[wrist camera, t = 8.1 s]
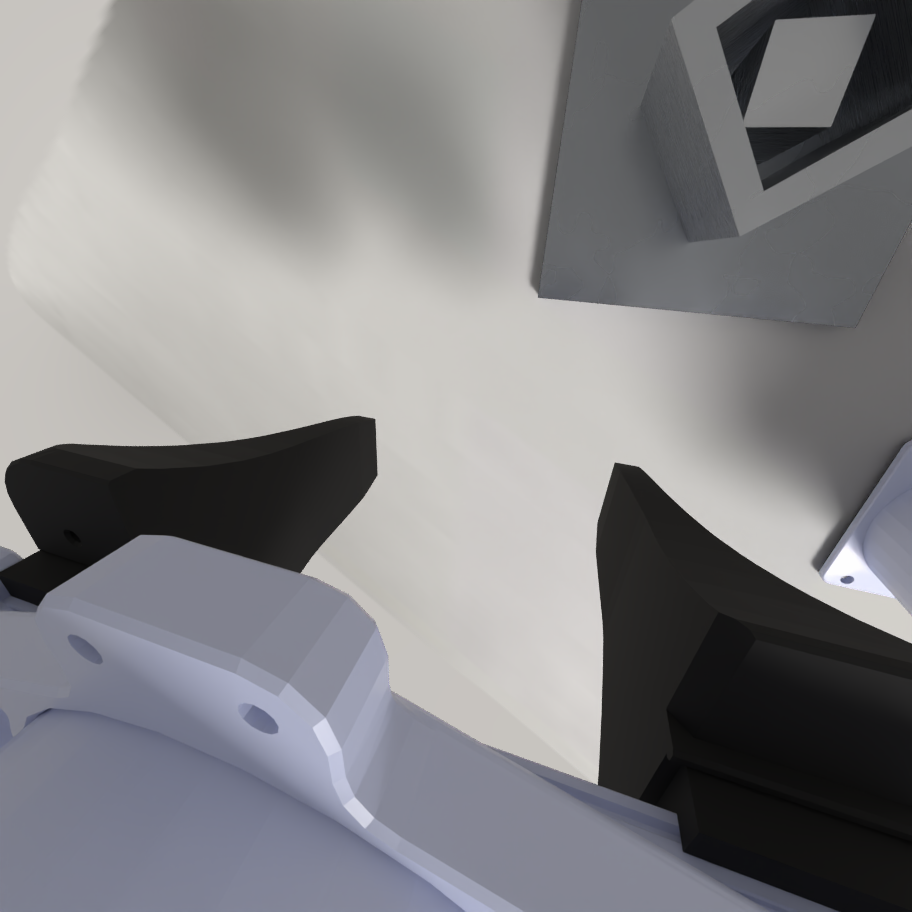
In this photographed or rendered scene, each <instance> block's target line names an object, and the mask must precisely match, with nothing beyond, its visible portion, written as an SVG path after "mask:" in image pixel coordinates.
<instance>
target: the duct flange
mask: <svg viewBox="0 0 912 912" xmlns="http://www.w3.org/2000/svg"><path fill="white" fill-rule="evenodd" d="M693 1H694V0H582V4H581V11H580V17H579V24H578V31H577V37H576V44H575V51H574V58H573V64H572V71H571V78H570V85H569V91H568V98H567V105H566V112H565V118H564V125H563V132H562V138H561V145H560V152H559V159H558V165H557V172H556V179H555V186H554V192H553V199H552V206H551V212H550V219H549V226H548V233H547V239H546V246H545V253H544V260H543V266H542V273H541V280H540V287H539V293H538V298H548V299H558V300H569V301H579V302H589V303H600V304H610V305H621V306H631V307H642V308H652V309H663V310H673V311H684V312H694V313H705V314H715V315H726V316H736V317H747V318H757V319H768V320H778V321H789V322H799V323H810V324H820V325H831V326H841V327H852V328H856V326H857V324H858V322H859V320H860V318H861V316H862V314H863V312H864V310H865V309H866V307H867V305H868V303H869V301H870V299H871V297H872V295H873V293H874V291H875V289H876V287H877V286H878V284H879V282H880V280H881V278H882V276H883V274H884V272H885V270H886V268H887V266H888V265H889V263H890V261H891V259H892V257H893V255H894V253H895V251H896V249H897V247H898V245H899V244H900V242H901V240H902V238H903V236H904V234H905V232H906V230H907V228H908V226H909V224H910V222H911V221H912V147H910V148H908V149H906V150H904V151H902V152H900V153H898V154H896V155H894V156H892V157H891V158H889V159H887V160H885V161H883V162H881V163H879V164H877V165H875V166H873V167H871V168H870V169H868V170H866V171H864V172H862V173H860V174H858V175H856V176H854V177H852V178H851V179H849V180H847V181H845V182H843V183H841V184H839V185H837V186H835V187H833V188H831V189H830V190H828V191H826V192H824V193H822V194H820V195H818V196H816V197H814V198H812V199H810V200H809V201H807V202H805V203H803V204H801V205H799V206H797V207H795V208H793V209H791V210H789V211H788V212H786V213H784V214H782V215H780V216H778V217H776V218H774V219H772V220H770V221H768V222H767V223H765V224H763V225H761V226H759V227H757V228H755V229H753V230H751V231H749V232H747V233H746V234H744V235H742V236H740V237H732V238H724V239H715V240H707V241H699V242H691V243H688V240H687V237H686V234H685V231H684V228H683V225H682V223H681V220H680V217H679V214H678V211H677V208H676V206H675V203H674V200H673V197H672V194H671V191H670V189H669V186H668V183H667V180H666V177H665V174H664V172H663V169H662V166H661V163H660V160H659V157H658V154H657V152H656V149H655V146H654V143H653V140H652V137H651V135H650V132H649V129H648V126H647V123H646V120H645V118H644V115H643V112H642V109H641V106H640V105H641V103H642V100H643V97H644V94H645V91H646V88H647V86H648V83H649V80H650V77H651V74H652V71H653V69H654V66H655V63H656V60H657V57H658V54H659V52H660V49H661V46H662V43H663V40H664V37H665V35H666V32H667V29H668V26H669V23H670V20H671V19H672V18H673V17H674V16H675V15H677V14H678V13H679V12H680V11H682V10H683V9H684V8H685V7H687V6H688V5H689V4H690V3H692V2H693ZM875 16H876V14H869V15H851V16H833V17H816V18H798V19H780V20H775V21H774V22H773V23H772V25H771V26H770V27H769V28H768V30H767V31H766V32H765V33H764V35H763V36H762V37H761V38H760V40H759V41H758V42H757V43H756V45H755V46H754V47H753V49H752V50H751V51H750V52H749V54H748V55H747V56H746V57H745V59H743V60H742V61H741V62H739V63H738V64H736V65H735V66H733V67H732V68H731V69H729V73H730V77H731V80H732V83H733V87H734V90H735V94H736V97H737V101H738V104H739V107H740V111H741V114H742V118H743V121H744V125H745V128H746V132H747V135H748V138H749V142H750V145H751V149H752V152H753V156H754V159H755V162H756V166H757V169H758V173H759V176H760V180H762V179H764V178H766V177H768V176H769V175H771V174H773V173H775V172H776V171H778V170H780V169H782V168H783V167H785V166H787V165H789V164H790V163H792V162H794V161H796V160H797V159H799V158H801V157H803V156H805V155H806V154H808V153H810V152H812V151H813V150H815V149H817V148H819V147H820V146H822V143H821V139H820V135H819V133H821V132H822V131H824V130H826V129H828V128H830V127H831V126H832V123H833V121H834V118H835V116H836V113H837V111H838V108H839V106H840V103H841V101H842V98H843V96H844V93H845V91H846V88H847V86H848V83H849V81H850V79H851V76H852V74H853V71H854V69H855V66H856V64H857V61H858V59H859V56H860V54H861V51H862V49H863V46H864V44H865V41H866V39H867V36H868V34H869V31H870V29H871V26H872V24H873V21H874V19H875Z"/></svg>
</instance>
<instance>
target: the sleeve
mask: <svg viewBox="0 0 912 912" xmlns="http://www.w3.org/2000/svg"><path fill="white" fill-rule="evenodd" d="M869 14H876V16H875V19H874V21H873V24H872V26H871V29H870V31H869V34H868V36H867V39H866V41H865V44H864V46H863V49H862V51H861V54H860V56H859V59H858V61H857V64H856V66H855V69H854V71H853V74H852V76H851V79H850V81H849V83H848V86H847V88H846V91H845V93H844V96H843V98H842V101H841V103H840V106H839V108H838V111H837V113H836V116H835V118H834V121H833V123H832V126H831V127H830V128H828V129H826V130H824V131H822V132H821V133H819V135H820V139H821V143H822V146H820V147H819V148H817V149H815V150H813V151H812V152H810V153H808V154H806V155H805V156H803V157H801V158H799V159H797V160H796V161H794V162H792V163H790V164H789V165H787V166H785V167H783V168H782V169H780V170H778V171H776V172H775V173H773V174H771V175H769V176H768V177H766V178H764V179H762V180H760V176H759V173H758V169H757V166H756V162H755V159H754V156H753V152H752V149H751V145H750V142H749V138H748V135H747V132H746V128H745V125H744V121H743V118H742V114H741V111H740V107H739V104H738V101H737V97H736V94H735V90H734V87H733V83H732V80H731V77H730V73H729V69H731V68H732V67H733V66H735V65H736V64H738V63H739V62H741V61H742V60H743V59H745V57H746V56H747V55H748V54H749V52H750V51H751V50H752V49H753V47H754V46H755V45H756V43H757V42H758V41H759V40H760V38H761V37H762V36H763V35H764V33H765V32H766V31H767V30H768V28H769V27H770V26H771V25H772V23H773V22H774V21H775V20H780V19H798V18H816V17H833V16H851V15H869ZM640 106H641V109H642V112H643V115H644V118H645V120H646V123H647V126H648V129H649V132H650V135H651V137H652V140H653V143H654V146H655V149H656V152H657V154H658V157H659V160H660V163H661V166H662V169H663V172H664V174H665V177H666V180H667V183H668V186H669V189H670V191H671V194H672V197H673V200H674V203H675V206H676V208H677V211H678V214H679V217H680V220H681V223H682V225H683V228H684V231H685V234H686V237H687V240H688V243H691V242H699V241H707V240H715V239H724V238H732V237H740V236H742V235H744V234H746V233H747V232H749V231H751V230H753V229H755V228H757V227H759V226H761V225H763V224H765V223H767V222H768V221H770V220H772V219H774V218H776V217H778V216H780V215H782V214H784V213H786V212H788V211H789V210H791V209H793V208H795V207H797V206H799V205H801V204H803V203H805V202H807V201H809V200H810V199H812V198H814V197H816V196H818V195H820V194H822V193H824V192H826V191H828V190H830V189H831V188H833V187H835V186H837V185H839V184H841V183H843V182H845V181H847V180H849V179H851V178H852V177H854V176H856V175H858V174H860V173H862V172H864V171H866V170H868V169H870V168H871V167H873V166H875V165H877V164H879V163H881V162H883V161H885V160H887V159H889V158H891V157H892V156H894V155H896V154H898V153H900V152H902V151H904V150H906V149H908V148H910V147H912V0H694V1H693V2H692V3H690V4H689V5H688V6H687V7H685V8H684V9H683V10H682V11H680V12H679V13H678V14H677V15H675V16H674V17H673V18H672V19H671V20H670V23H669V26H668V29H667V32H666V35H665V37H664V40H663V43H662V46H661V49H660V52H659V54H658V57H657V60H656V63H655V66H654V69H653V71H652V74H651V77H650V80H649V83H648V86H647V88H646V91H645V94H644V97H643V100H642V103H641V105H640Z"/></svg>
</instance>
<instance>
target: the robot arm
mask: <svg viewBox="0 0 912 912" xmlns="http://www.w3.org/2000/svg"><path fill="white" fill-rule="evenodd" d="M376 477H377V450H376V425H375V419H373V418H367V417H362V416H350V417H344V418H339V419H335V420H330V421H326V422H322V423H318V424H314V425H310V426H306V427H302V428H298V429H293V430H289V431H284V432H280V433H275V434H271V435H266V436H261V437H255V438H249V439H242V440H235V441H228V442H218V443H206V444H194V445H180V446H108V445H84V444H83V445H82V444H62V445H56V446H53V447H50V448H47V449H44V450H42V451H39V452H36V453H34V454H31V455H28V456H26V457H23V458H20V459H18V460H15V461H12V462H11V463H10V465H9V466H8V468H7V470H6V474H5V484H6V488H7V492H8V494H9V497H10V499H11V501H12V503H13V505H14V507H15V509H16V510H17V512H18V514H19V516H20V517H21V519H22V521H23V523H24V524H25V526H26V528H27V530H28V531H29V533H30V535H31V537H32V538H33V540H34V542H35V544H36V545H37V547H38V549H40V551H38V552H36V553H34V554H32V555H30V556H29V557H27V558H25V559H22V558H21V557H20V556H19V555H18V554H17V553H15V552H14V551H12V550H10V549H7V548H4V547H1V546H0V912H912V644H911V643H909V642H907V641H904V640H902V639H900V638H898V637H896V636H893V635H891V634H889V633H887V632H884V631H882V630H880V629H878V628H875V627H873V626H871V625H869V624H866V623H864V622H862V621H860V620H857V619H855V618H853V617H851V616H849V615H847V614H845V613H843V612H841V611H839V610H837V609H835V608H833V607H831V606H829V605H827V604H825V603H824V602H822V601H820V600H818V599H816V598H814V597H812V596H810V595H808V594H806V593H804V592H803V591H801V590H799V589H797V588H795V587H793V586H792V585H790V584H788V583H786V582H784V581H783V580H781V579H779V578H778V577H776V576H774V575H773V574H771V573H769V572H768V571H766V570H765V569H763V568H761V567H760V566H758V565H756V564H755V563H753V562H752V561H750V560H748V559H747V558H745V557H744V556H742V555H741V554H739V553H738V552H737V551H735V550H734V549H732V548H731V547H730V546H728V545H727V544H725V543H724V542H723V541H721V540H720V539H718V538H717V537H716V536H714V535H713V534H712V533H710V532H709V531H708V530H707V529H705V528H704V527H703V526H702V525H701V524H699V523H698V522H697V521H696V520H695V519H694V518H692V517H691V516H690V515H689V514H688V513H687V512H685V511H684V510H683V509H682V508H681V507H680V506H679V505H678V504H677V503H676V502H675V501H674V500H673V499H672V498H670V497H669V496H668V495H667V494H666V493H665V492H664V491H663V490H662V489H661V488H660V487H659V486H658V485H657V484H656V483H655V482H654V481H653V480H652V479H651V478H650V477H649V476H648V475H647V474H646V473H645V472H644V471H643V470H642V469H641V468H640V467H637V466H631V465H626V464H620V463H615V464H614V467H613V471H612V474H611V478H610V481H609V485H608V488H607V492H606V495H605V499H604V502H603V506H602V509H601V513H600V516H599V519H598V524H597V541H596V558H597V569H598V580H599V590H600V600H601V610H602V620H603V686H602V717H601V738H600V760H599V777H598V785H596V784H593V783H591V782H588V781H585V780H582V779H580V778H577V777H574V776H571V775H569V774H566V773H563V772H560V771H558V770H554V769H552V768H549V767H546V766H544V765H541V764H538V763H535V762H533V761H530V760H527V759H524V758H522V757H519V756H516V755H513V754H511V753H507V752H505V751H502V750H500V749H496V748H494V747H491V746H488V745H486V744H483V743H481V742H479V741H477V740H475V739H474V738H472V737H470V736H469V735H467V734H465V733H463V732H462V731H460V730H458V729H457V728H455V727H453V726H451V725H450V724H448V723H446V722H445V721H443V720H441V719H439V718H438V717H436V716H434V715H433V714H431V713H429V712H428V711H426V710H424V709H422V708H421V707H419V706H417V705H415V704H414V703H412V702H410V701H409V700H407V699H405V698H403V697H402V696H400V695H398V694H397V693H395V692H393V691H391V690H390V685H389V664H388V654H387V651H386V649H385V646H384V643H383V641H382V638H381V635H380V632H379V630H378V627H377V625H376V622H375V620H374V619H373V618H372V617H370V615H369V614H368V613H366V611H365V610H364V609H363V608H362V607H361V606H360V605H359V604H358V603H357V602H356V601H355V600H354V599H353V598H352V597H351V596H350V595H349V594H347V593H345V592H343V591H341V590H339V589H337V588H335V587H333V586H331V585H329V584H327V583H325V582H323V581H321V580H319V579H317V578H314V577H310V576H307V575H303V574H300V573H301V572H302V570H303V569H304V567H305V566H306V564H307V563H308V562H309V560H310V559H311V557H312V556H313V555H314V553H315V552H316V551H317V550H318V549H319V547H320V546H321V545H322V544H323V543H324V542H325V541H326V539H327V538H328V537H329V536H330V535H331V534H332V533H333V532H334V530H335V529H336V528H337V527H338V526H339V525H340V524H341V523H342V522H343V520H344V519H345V518H346V517H347V516H348V515H349V514H350V513H351V511H352V510H353V509H354V508H355V507H356V506H357V504H358V503H359V502H360V501H361V500H362V499H363V497H364V496H365V494H366V493H367V491H368V490H369V488H370V487H371V485H372V483H373V482H374V480H375V478H376ZM819 575H820V577H821V578H822V579H823V580H824V581H825V582H826V583H829V584H832V585H837V586H841V587H846V588H850V589H855V590H859V591H864V592H868V593H873V594H877V595H882V596H886V597H891V598H895V599H897V600H898V601H899V602H900V603H901V605H902V606H903V607H904V608H905V609H906V610H907V611H908V612H909V614H910V615H911V616H912V440H911V441H909V442H907V443H906V444H905V445H904V446H903V447H902V448H901V450H900V451H899V453H898V454H897V456H896V457H895V459H894V460H893V462H892V463H891V465H890V466H889V468H888V469H887V471H886V472H885V474H884V475H883V477H882V478H881V480H880V481H879V483H878V484H877V486H876V487H875V489H874V490H873V492H872V493H871V494H870V496H869V497H868V499H867V500H866V502H865V503H864V505H863V506H862V508H861V509H860V511H859V512H858V514H857V515H856V517H855V518H854V520H853V521H852V523H851V524H850V526H849V527H848V529H847V530H846V532H845V533H844V535H843V536H842V538H841V539H840V541H839V542H838V544H837V545H836V547H835V548H834V550H833V551H832V553H831V554H830V556H829V557H828V559H827V560H826V562H825V563H824V565H823V566H822V568H821V569H820V571H819ZM844 576H848V577H846V578H842V577H844Z"/></svg>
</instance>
